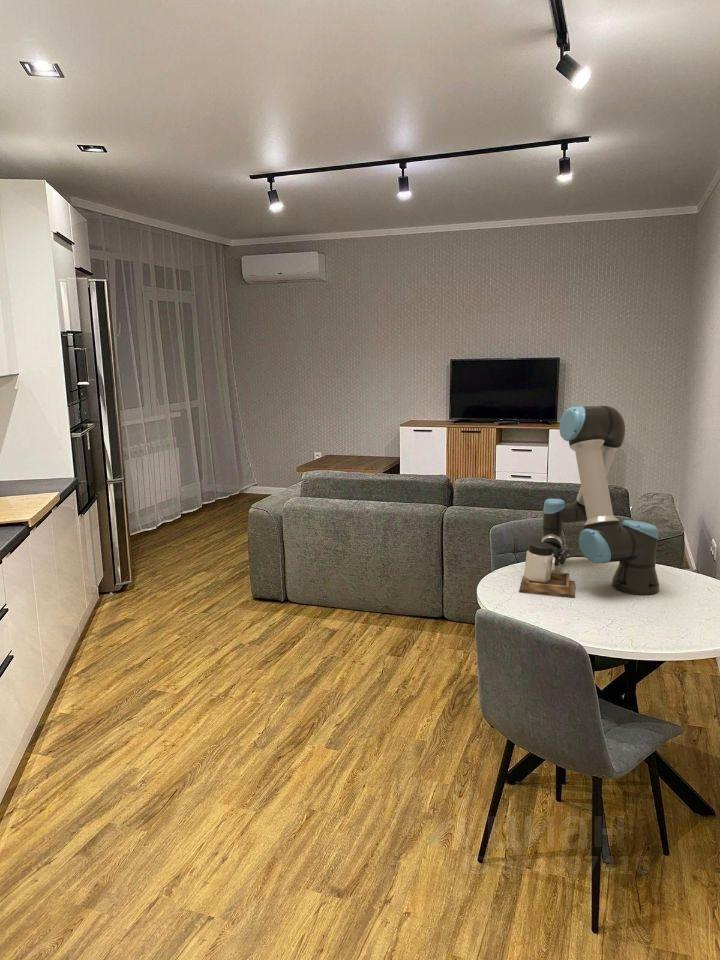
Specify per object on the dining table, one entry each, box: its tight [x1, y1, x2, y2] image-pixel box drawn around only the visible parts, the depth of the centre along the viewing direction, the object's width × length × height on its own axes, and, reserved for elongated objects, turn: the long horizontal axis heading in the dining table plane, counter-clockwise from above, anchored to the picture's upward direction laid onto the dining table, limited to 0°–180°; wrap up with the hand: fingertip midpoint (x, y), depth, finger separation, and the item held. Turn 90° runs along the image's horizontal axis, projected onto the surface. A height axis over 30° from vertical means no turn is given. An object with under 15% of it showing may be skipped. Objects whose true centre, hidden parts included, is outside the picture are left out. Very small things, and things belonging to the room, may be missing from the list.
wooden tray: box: [518, 571, 576, 599], centre depth 246 cm, size 18×15×4 cm
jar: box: [523, 541, 554, 583], centre depth 244 cm, size 9×8×12 cm
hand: (549, 565), depth 239 cm, fingers open, 2 cm apart
